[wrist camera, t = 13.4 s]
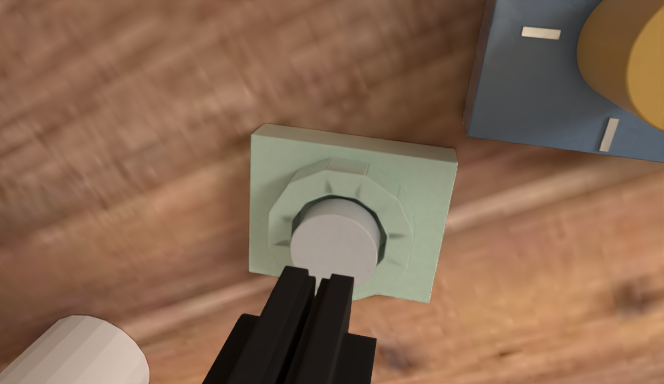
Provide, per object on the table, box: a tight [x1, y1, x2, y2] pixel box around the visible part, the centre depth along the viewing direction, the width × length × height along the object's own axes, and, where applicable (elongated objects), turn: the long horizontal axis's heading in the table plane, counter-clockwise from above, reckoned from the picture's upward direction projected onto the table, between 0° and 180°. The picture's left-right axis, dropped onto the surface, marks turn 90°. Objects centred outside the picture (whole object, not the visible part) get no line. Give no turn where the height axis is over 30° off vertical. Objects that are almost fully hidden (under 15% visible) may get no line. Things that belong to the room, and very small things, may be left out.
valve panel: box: [462, 0, 664, 163], centre depth 19 cm, size 11×9×3 cm
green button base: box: [249, 123, 458, 303], centre depth 24 cm, size 10×8×4 cm
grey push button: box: [290, 199, 381, 289], centre depth 22 cm, size 4×4×2 cm
